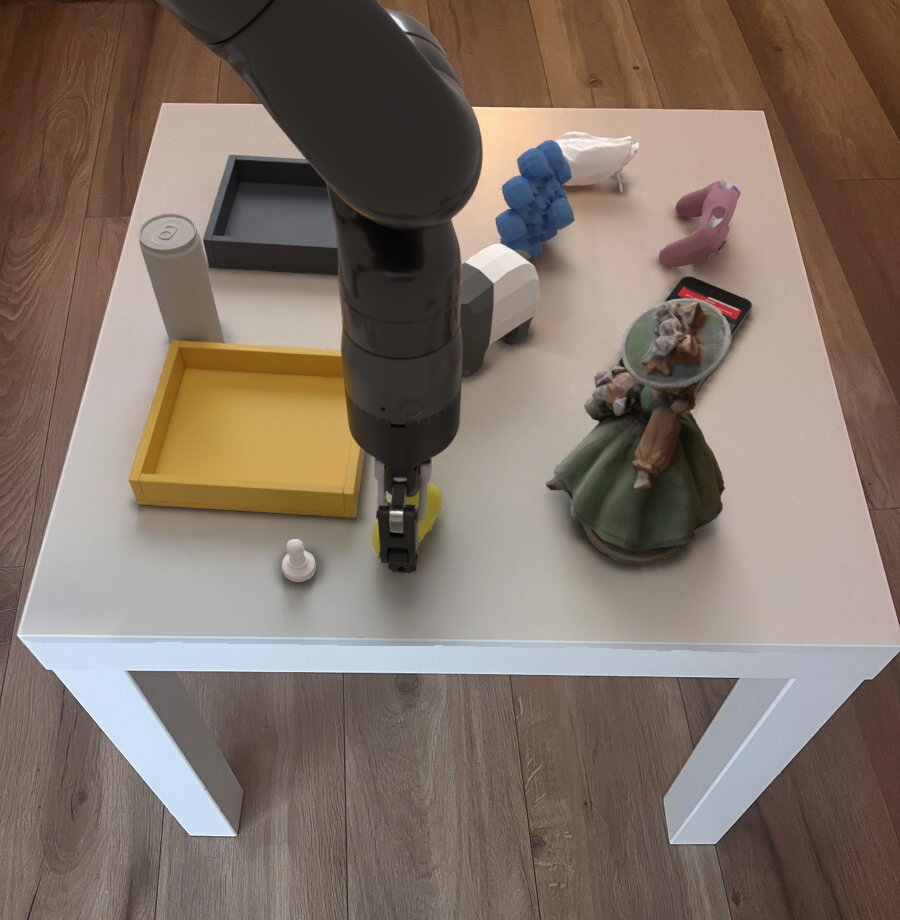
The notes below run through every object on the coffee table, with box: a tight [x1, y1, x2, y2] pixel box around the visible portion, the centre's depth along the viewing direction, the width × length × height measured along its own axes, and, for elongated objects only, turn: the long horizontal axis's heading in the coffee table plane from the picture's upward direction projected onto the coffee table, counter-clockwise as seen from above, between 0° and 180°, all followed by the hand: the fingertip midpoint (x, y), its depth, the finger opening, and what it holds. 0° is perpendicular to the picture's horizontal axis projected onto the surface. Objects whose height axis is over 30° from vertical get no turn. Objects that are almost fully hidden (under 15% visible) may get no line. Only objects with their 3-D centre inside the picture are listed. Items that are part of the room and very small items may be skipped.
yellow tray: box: [127, 340, 366, 519], centre depth 76 cm, size 18×16×3 cm
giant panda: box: [460, 242, 540, 379], centre depth 79 cm, size 15×6×10 cm, turn 133°
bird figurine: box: [554, 130, 641, 193], centre depth 95 cm, size 5×7×10 cm
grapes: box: [494, 139, 576, 261], centre depth 85 cm, size 12×7×12 cm, turn 147°
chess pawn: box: [281, 538, 317, 583], centre depth 69 cm, size 3×3×4 cm
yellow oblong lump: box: [371, 481, 443, 557], centre depth 71 cm, size 4×8×4 cm, turn 146°
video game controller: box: [658, 178, 741, 268], centre depth 90 cm, size 10×5×7 cm, turn 161°
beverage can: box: [137, 213, 224, 345], centre depth 78 cm, size 5×5×12 cm
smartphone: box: [617, 275, 753, 393], centre depth 85 cm, size 7×1×15 cm
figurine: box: [545, 298, 733, 566], centre depth 67 cm, size 14×14×20 cm
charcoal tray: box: [202, 154, 338, 276], centre depth 91 cm, size 16×14×3 cm
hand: (407, 526), depth 72 cm, fingers closed on yellow oblong lump, 7 cm apart
